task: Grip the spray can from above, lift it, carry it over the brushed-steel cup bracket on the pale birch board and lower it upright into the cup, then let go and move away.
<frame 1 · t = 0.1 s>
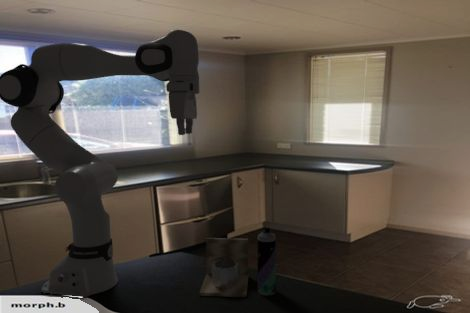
hand: (185, 134, 106), 48 cm above the table, tool pointing down, fingers open, 8 cm apart
spray can: (266, 292, 108), on the table
steel cup bracket: (225, 272, 112), point 4 cm above the table
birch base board: (225, 285, 112), on the table
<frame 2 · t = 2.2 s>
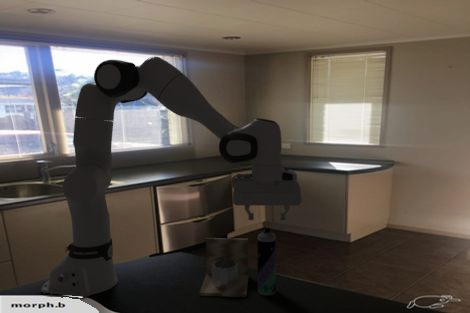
hand: (266, 219, 105), 22 cm above the table, tool pointing down, fingers open, 8 cm apart
nothing on the table moved.
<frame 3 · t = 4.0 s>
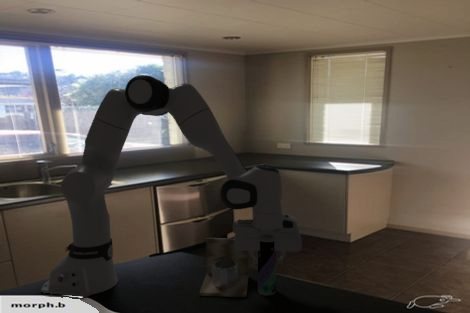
hand: (267, 264, 107), 9 cm above the table, tool pointing down, fingers open, 6 cm apart
spray can: (266, 292, 108), on the table, touching arm, gripper
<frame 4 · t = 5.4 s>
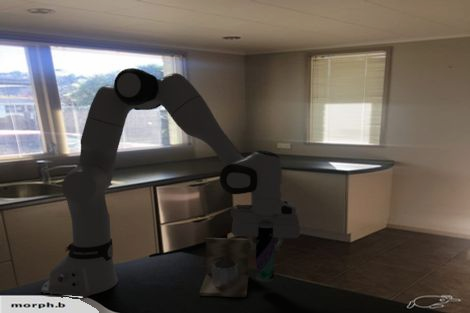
hand: (265, 250, 106), 13 cm above the table, tool pointing down, fingers closed on spray can, 5 cm apart
spray can: (264, 278, 107), point 4 cm above the table, touching gripper
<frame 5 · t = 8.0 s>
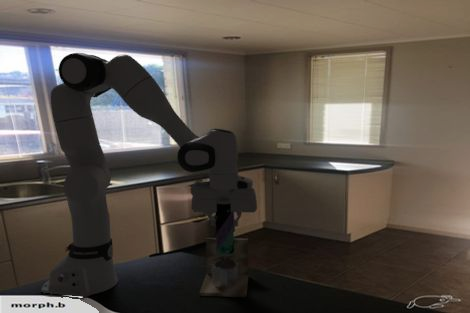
hand: (224, 225, 110), 19 cm above the table, tool pointing down, fingers closed on spray can, 5 cm apart
spray can: (225, 254, 111), point 10 cm above the table, touching gripper
when the fingers open (11 cm above the table, at t = 10.9 s): spray can stays where it is, resting on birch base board.
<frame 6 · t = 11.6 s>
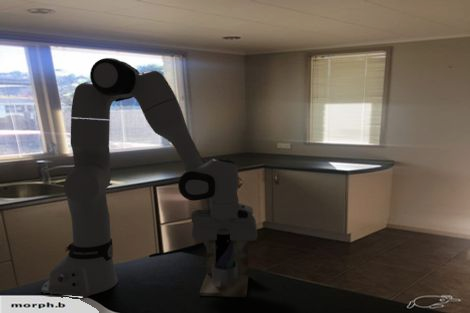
hand: (224, 253, 111), 11 cm above the table, tool pointing down, fingers open, 8 cm apart
spray can: (224, 283, 112), point 1 cm above the table, touching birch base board
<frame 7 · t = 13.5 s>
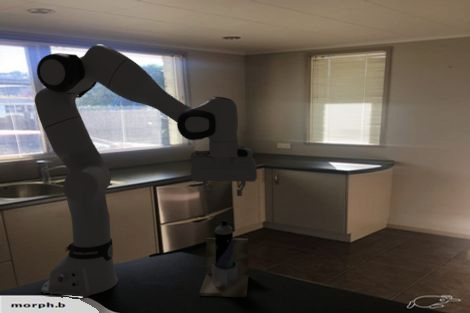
hand: (224, 195, 109), 29 cm above the table, tool pointing down, fingers open, 8 cm apart
nothing on the table moved.
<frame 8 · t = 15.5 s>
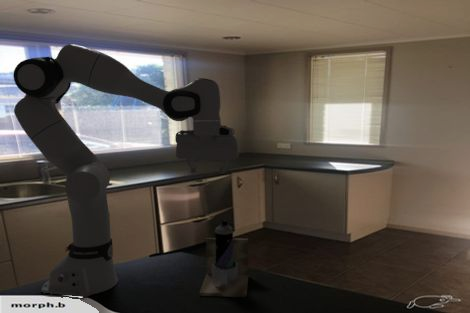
hand: (207, 172, 115), 35 cm above the table, tool pointing down, fingers open, 8 cm apart
nothing on the table moved.
at the end: spray can 0.2 cm off-centre on the steel cup bracket, point 0.8 cm above the steel cup bracket's base; spray can tilted 0°; the gripper is holding nothing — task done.
